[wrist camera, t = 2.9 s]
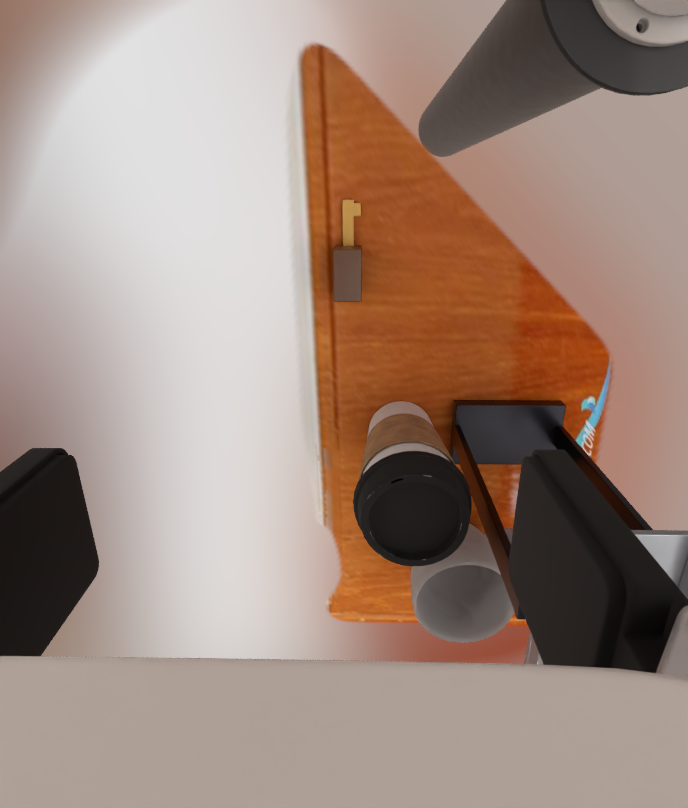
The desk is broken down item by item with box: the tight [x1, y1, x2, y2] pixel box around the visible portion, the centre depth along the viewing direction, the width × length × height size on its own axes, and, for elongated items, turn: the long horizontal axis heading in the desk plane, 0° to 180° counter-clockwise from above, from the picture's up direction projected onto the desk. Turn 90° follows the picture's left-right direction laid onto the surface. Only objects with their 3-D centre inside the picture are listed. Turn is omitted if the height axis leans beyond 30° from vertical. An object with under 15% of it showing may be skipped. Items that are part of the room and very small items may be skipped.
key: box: [333, 200, 362, 302], centre depth 41 cm, size 8×2×3 cm, turn 1°
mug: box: [411, 523, 514, 642], centre depth 48 cm, size 12×9×10 cm
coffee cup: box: [353, 401, 471, 566], centre depth 41 cm, size 8×8×15 cm
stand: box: [450, 400, 653, 619], centre depth 38 cm, size 6×10×22 cm, turn 90°
